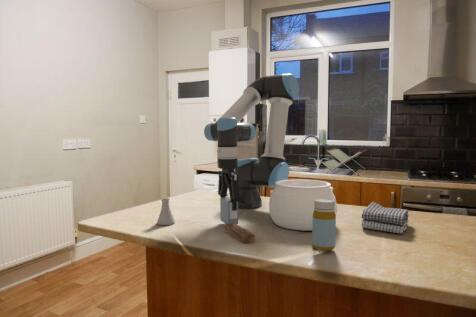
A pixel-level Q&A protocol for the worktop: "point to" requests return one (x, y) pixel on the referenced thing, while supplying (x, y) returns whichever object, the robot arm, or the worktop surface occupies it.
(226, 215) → the slab
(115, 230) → the worktop surface
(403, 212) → the towel
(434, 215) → the worktop surface
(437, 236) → the worktop surface
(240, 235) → the block
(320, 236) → the bottle
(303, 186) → the pot
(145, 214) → the worktop surface
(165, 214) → the flask
